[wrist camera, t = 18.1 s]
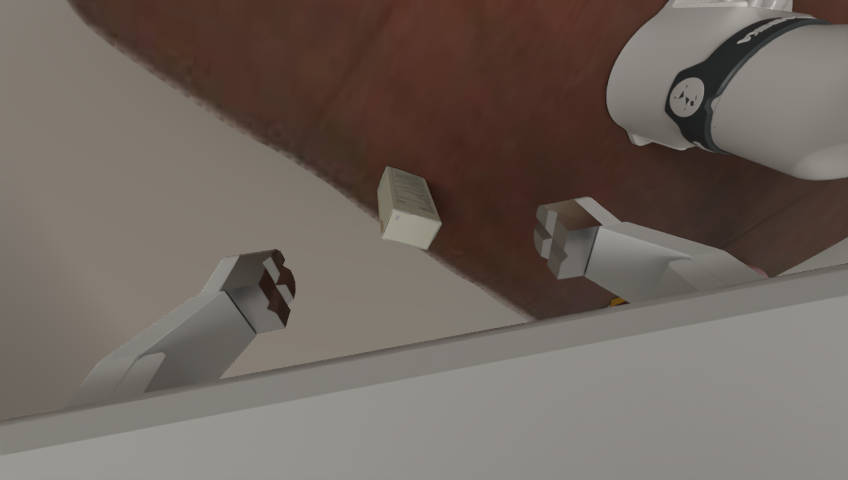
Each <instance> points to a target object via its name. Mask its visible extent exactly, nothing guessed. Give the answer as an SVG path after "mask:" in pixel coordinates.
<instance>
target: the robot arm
mask: <svg viewBox="0 0 848 480" xmlns="http://www.w3.org/2000/svg"><path fill="white" fill-rule="evenodd" d="M606 99H607V107H608V111H609V114H610V116H611V117H612V119H613V120H614V121H615V122H616V123H617V124H618V125H619V126H621V127H622V128H624V129H625V130H626V131H627V133H628V136H629V139H630V141H631V143H632V144H635V145H638V146H642V145H646V144H648V143H651V142H655V143H658V144H662V145H665V146H668V147H671V148H674V149H677V150H685V149H687V148H690V147H694V146H698V147H699V148H701V149H704V150H707V151H710V152H716V153H720V154H723V155H737V156H740V157H743V158H745V159H748V160H751V161H753V162H756V163H759V164H761V165H764V166H767V167H769V168H772V169H775V170H778V171H780V172H783V173H786V174H788V175H791V176H794V177H797V178H800V179H806V180H830V179H839V178H845V177H848V25H833V24H832V23H830V22H828V21H826V20H822V19H816V18H814V17H812V16H811V15H808V14H801V13H794V12H792V0H669V1H668V2H667V4H666V5H665V6H664V8H663V9H662V10H661V11H660V12H659V13H658V14H657V15H656V16H654V17H653V18H652V19H651V20H649V21H648V22H647V23H646V24H644V25H643V26H642V27H641V28H640V29H639V30H638V31H637V32H636V33H635V34H634V35H633V37H632V38H631V39H630V40H629V41H628V43H627V44H626V45H625V47H624V48H623V50H622V51H621V53H620V55H619V56H618V58H617V60H616V62H615V64H614V67H613V69H612V72H611V74H610V78H609V81H608V86H607V95H606ZM536 217H537V219H538V220H539V221H540V223H539V224H538V225H537V226H536V228H535V230H534V241H535V246H536V249H537V251H538V252H539V254H540V255H541V256H542V257H544V258H546V259H548V267H549V268H550V269H551V271H552V272H553V274H554V275H555V276H556V278H557V279H564V278H570V277H577V276H584V275H585V277H586V278H588V279H590V280H591V281H593V282H595V283H597V284H598V285H600V286H602V287H603V288H605V289H607V290H609V291H610V292H612V293H614V294H615V295H617V296H619V297H621V298H622V299H624V300H626V301H627V302H629V303H630V304H625V305H619V306H614V307H609V308H603V309H598V310H593V311H587V312H582V313H577V314H571V315H566V316H560V317H555V318H549V319H544V320H538V321H533V322H527V323H522V324H516V325H511V326H506V327H500V328H495V329H489V330H483V331H479V332H473V333H467V334H462V335H457V336H451V337H446V338H440V339H435V340H430V341H424V342H419V343H413V344H408V345H402V346H397V347H392V348H386V349H381V350H376V351H370V352H365V353H359V354H354V355H349V356H344V357H338V358H332V359H327V360H321V361H316V362H311V363H305V364H300V365H295V366H289V367H283V368H278V369H273V370H267V371H262V372H256V373H251V374H245V375H240V376H235V377H229V378H224V379H219V378H220V377H221V376H222V375H223V374H224V372H225V371H226V370H227V369H228V368H229V367H230V365H231V364H232V363H233V362H234V361H235V359H236V358H237V357H238V356H239V355H240V354H241V353H242V352H243V350H244V349H245V348H246V347H247V346H248V345H249V344H250V342H251V341H252V340H253V339H254V338H255V337H256V334H259V333H264V332H269V331H273V330H278V329H283V328H285V327H286V324H287V320H288V317H289V313H290V309H289V307H288V304H289V303H290V302H291V301H292V300H293V299H294V296H295V280H294V277H293V275H292V272H291V270H289V269H287V268H286V267H284V266H283V263H284V261H285V259H284V257H283V255H282V253H281V251H279V250H277V249H273V250H267V251H260V252H253V253H246V254H239V255H233V256H228V257H225V258H223V259H222V260H221V262H220V263H219V265H218V266H217V268H216V269H215V271H214V273H213V275H212V276H211V277H210V279H209V280H208V282H207V284H206V285H205V287H204V288H203V290H202V291H201V293H200V294H199V295H197V296H193V297H191V298H190V299H189V300H187V301H186V302H184V303H183V304H181V305H180V306H179V307H177V308H176V309H174V310H173V311H171V312H170V313H168V314H167V315H166V316H165V317H163V318H161V319H160V320H158V321H157V322H156V323H154V324H153V325H151V326H150V327H148V328H147V329H146V330H144V331H143V332H141V333H140V334H138V335H137V336H136V337H134V338H133V339H131V340H130V341H128V342H127V343H125V344H124V345H122V346H121V347H120V348H118V349H117V350H115V351H114V352H113V353H111V354H110V355H108V356H107V357H105V358H104V359H102V360H101V361H100V362H98V364H97V365H96V366H95V367H94V368H93V370H92V371H91V372H90V373H89V375H88V376H87V377H86V378H85V380H84V381H83V382H82V383H81V385H80V386H79V387H78V388H77V390H76V391H75V392H74V393H73V395H72V396H71V397H70V398H69V400H68V401H67V402H66V403H65V405H64V406H63V407H62V408H61V409H56V410H50V411H45V412H39V413H34V414H28V415H23V416H18V417H12V418H8V419H1V420H0V480H848V263H847V264H841V265H836V266H831V267H825V268H820V269H815V270H809V271H803V272H798V273H793V274H787V275H782V276H776V277H771V278H765V277H763V276H762V275H760V274H759V273H757V272H756V271H754V270H753V269H751V268H750V267H748V266H747V265H745V264H744V263H742V262H741V261H739V260H738V259H736V258H735V257H733V256H731V255H730V254H728V253H727V252H725V251H723V250H720V249H717V248H713V247H710V246H707V245H703V244H700V243H697V242H693V241H690V240H686V239H683V238H680V237H676V236H673V235H670V234H666V233H663V232H660V231H656V230H653V229H649V228H646V227H643V226H639V225H636V224H633V223H629V222H620V221H619V220H618V219H617V218H615V217H614V216H613V215H612V214H611V213H609V212H608V211H607V210H606V209H604V208H603V207H602V206H601V205H599V204H598V203H597V202H596V201H594V200H593V199H592V198H591V197H581V198H576V199H571V200H567V201H562V202H556V203H551V204H545V205H540V206H539V208H538V210H537V215H536Z"/></svg>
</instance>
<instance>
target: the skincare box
mask: <svg viewBox="0 0 848 480" xmlns="http://www.w3.org/2000/svg"><path fill="white" fill-rule="evenodd" d="M377 192H378V204H379V218H380V230H381V238H382V239H385V240H389V241H392V242H395V243H400V244H404V245H408V246H412V247H417V248H421V249H426V250H427V249H428V247H429V245H430V244H431V242H432V241H433V239H434V237H435V235H436V234H437V232H438V230H439V228H440V226H441V224H442V223H441V221H440V218H439V215H438V213H437V210H436V207H435V205H434V202H433V199H432V197H431V194H430V191H429V189H428V186H427V183H426V181H425V179H424V178H422V177H419V176H416V175H414V174H411V173H408V172H405V171H402V170H399V169H396V168H392V167H389V166H387V167H386V169H385V171H384V174H383V176H382V178H381V181H380V184H379V187H378V190H377Z"/></svg>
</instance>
